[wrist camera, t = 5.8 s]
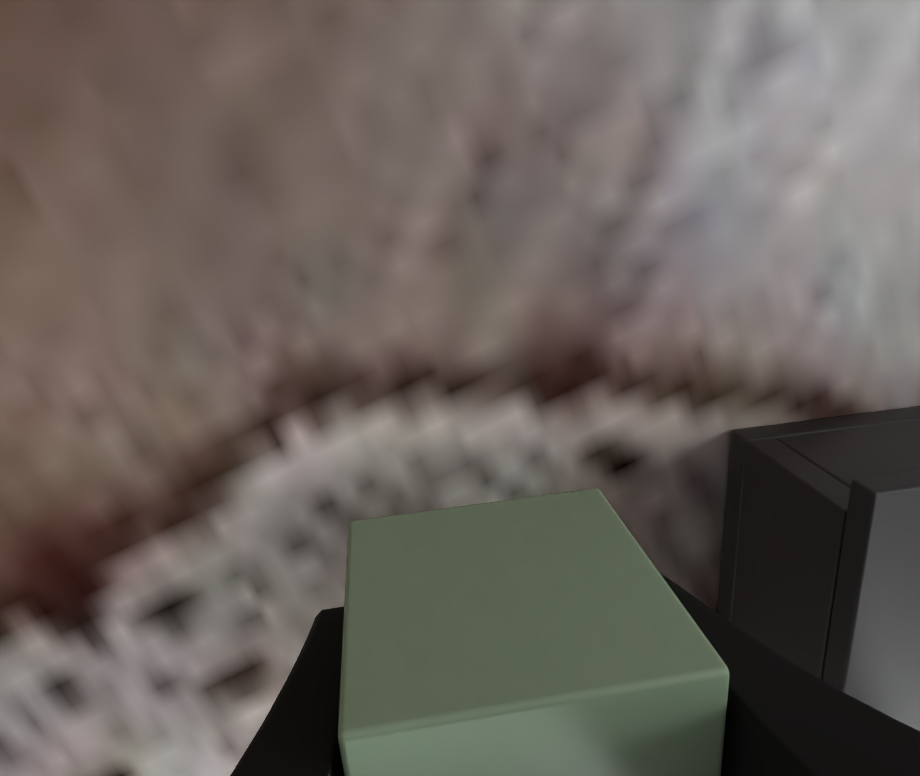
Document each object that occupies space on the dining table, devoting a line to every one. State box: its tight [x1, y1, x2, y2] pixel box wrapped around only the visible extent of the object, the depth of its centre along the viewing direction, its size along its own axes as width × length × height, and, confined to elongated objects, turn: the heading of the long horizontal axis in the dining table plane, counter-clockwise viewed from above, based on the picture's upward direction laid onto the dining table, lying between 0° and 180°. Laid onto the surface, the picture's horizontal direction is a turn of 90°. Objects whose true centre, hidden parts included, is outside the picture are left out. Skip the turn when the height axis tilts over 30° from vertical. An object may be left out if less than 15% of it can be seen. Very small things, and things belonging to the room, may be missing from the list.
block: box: [338, 488, 730, 776], centre depth 9 cm, size 4×4×4 cm
